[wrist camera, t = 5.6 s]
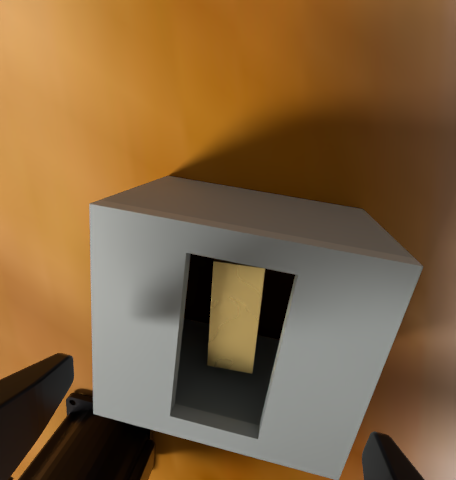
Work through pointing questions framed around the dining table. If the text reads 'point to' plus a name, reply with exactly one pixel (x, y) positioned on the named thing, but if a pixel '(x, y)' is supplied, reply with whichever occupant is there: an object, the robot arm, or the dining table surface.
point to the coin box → (267, 349)
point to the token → (234, 315)
